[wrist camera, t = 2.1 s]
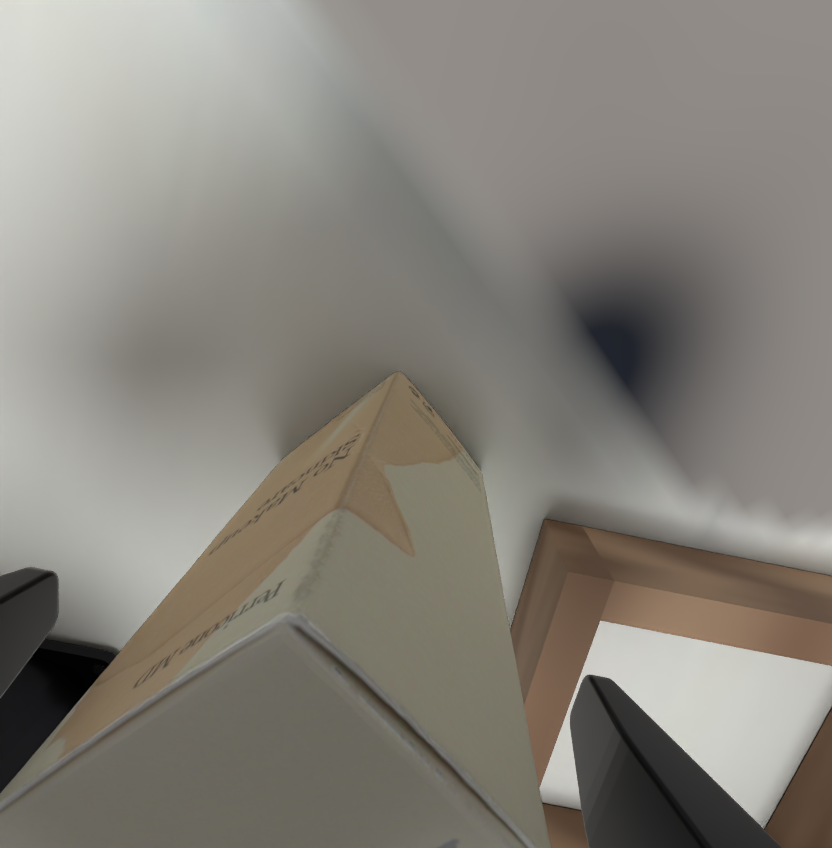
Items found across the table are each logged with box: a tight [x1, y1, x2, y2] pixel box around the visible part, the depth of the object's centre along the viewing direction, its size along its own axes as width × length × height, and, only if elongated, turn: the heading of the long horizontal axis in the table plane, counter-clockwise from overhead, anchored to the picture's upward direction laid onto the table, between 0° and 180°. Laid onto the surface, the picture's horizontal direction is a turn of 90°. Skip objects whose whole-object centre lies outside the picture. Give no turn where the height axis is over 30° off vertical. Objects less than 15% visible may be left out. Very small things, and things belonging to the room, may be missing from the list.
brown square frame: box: [510, 519, 832, 848], centre depth 17 cm, size 13×13×3 cm
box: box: [0, 372, 551, 848], centre depth 11 cm, size 5×4×11 cm
